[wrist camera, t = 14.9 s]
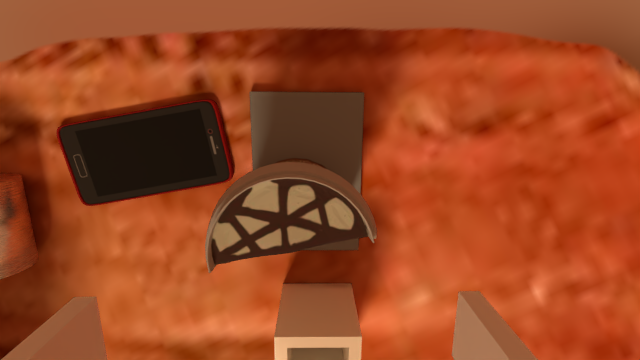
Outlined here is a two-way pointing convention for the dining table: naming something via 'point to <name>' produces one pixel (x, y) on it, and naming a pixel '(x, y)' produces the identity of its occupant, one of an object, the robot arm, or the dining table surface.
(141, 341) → the dining table surface
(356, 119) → the felt pad
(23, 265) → the silver round cylinder
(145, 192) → the cell phone
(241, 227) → the food container
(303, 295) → the cup
